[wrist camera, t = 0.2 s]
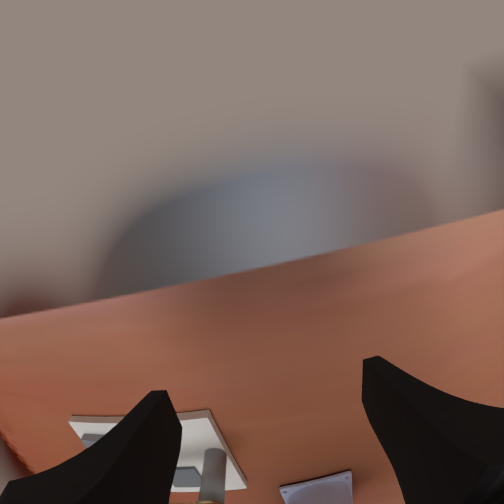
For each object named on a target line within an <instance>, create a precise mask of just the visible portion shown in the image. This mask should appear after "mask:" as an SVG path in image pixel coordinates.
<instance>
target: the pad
mask: <svg viewBox="0 0 504 504" xmlns="http://www.w3.org/2000/svg"><path fill="white" fill-rule="evenodd" d="M200 484H201V474H200V473H199V472H198V470H197V469H196V467H195V466H188V467H176V471H175V475H174V480H173V485H174V487H200Z"/></svg>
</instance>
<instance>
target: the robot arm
mask: <svg viewBox="0 0 504 504" xmlns="http://www.w3.org/2000/svg"><path fill="white" fill-rule="evenodd" d="M362 403H363V405H364V408H365V411H366V414H367V417H368V419H369V422H370V424H371V426H372V428H373V430H374V432H375V434H376V435H377V437H378V439H379V441H380V443H381V445H382V447H383V449H384V451H385V453H386V454H387V456H388V458H389V460H390V462H391V464H392V466H393V469H394V471H395V473H396V476H397V479H398V482H399V485H400V488H401V491H402V494H403V497H404V500H405V504H504V408H499V407H492V406H487V405H483V404H479V403H474V402H471V401H467V400H464V399H461V398H458V397H455V396H453V395H450V394H447V393H445V392H443V391H440V390H438V389H436V388H434V387H432V386H430V385H428V384H426V383H424V382H422V381H420V380H418V379H416V378H415V377H413V376H411V375H409V374H408V373H406V372H404V371H403V370H401V369H399V368H398V367H396V366H395V365H393V364H391V363H390V362H388V361H387V360H385V359H383V358H382V357H380V356H375V357H371V358H368V359H364V360H363V379H362ZM182 428H183V427H182V425H181V423H180V421H179V418H178V416H177V414H176V412H175V409H174V407H173V405H172V403H171V400H170V398H169V395H168V393H167V391H166V390H158V391H151V392H150V393H148V394H147V395H146V396H145V397H144V398H143V399H142V400H141V401H140V402H139V403H138V404H137V405H136V406H135V407H134V408H133V409H132V410H131V411H130V412H129V413H128V414H127V415H126V416H125V417H124V418H123V419H122V420H121V421H120V422H119V423H118V424H117V425H115V426H114V427H113V428H112V429H111V430H110V431H109V432H107V433H106V434H105V435H104V436H103V437H102V438H100V439H99V440H98V441H97V442H95V443H94V444H93V445H91V446H90V447H88V448H87V449H85V450H84V451H82V452H81V453H79V454H78V455H76V456H74V457H72V458H71V459H69V460H67V461H65V462H63V463H61V464H60V465H57V466H55V467H53V468H51V469H48V470H46V471H43V472H41V473H38V474H35V475H32V476H28V477H25V478H21V479H17V480H13V481H9V482H8V484H7V485H6V487H5V489H4V490H3V492H2V494H1V496H0V504H168V503H169V497H170V492H171V488H172V484H173V480H174V475H175V471H176V467H177V463H178V459H179V454H180V450H181V441H182ZM279 490H280V493H281V495H282V497H283V499H284V502H285V504H354V503H353V500H352V473H351V471H346V472H342V473H339V474H335V475H331V476H328V477H324V478H320V479H316V480H311V481H307V482H302V483H297V484H292V485H287V486H282V487H280V488H279Z"/></svg>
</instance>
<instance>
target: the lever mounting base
mask: <svg viewBox="0 0 504 504" xmlns="http://www.w3.org/2000/svg"><path fill="white" fill-rule="evenodd" d="M176 414H177V416H178V418H179V421H180V423H181V425H182V427H183V428H182V441H181V450H180V454H179V459H178V463H177V467H188V466H195V467H196V469H197V470H198V472H199V473H200V474H201V484H200V487H174V485H173V484H172V488H171V492H199V499H198V501H201V500H212V501H217V502H221V503H223V504H224V499H225V490H236V489H246V488H247V481H246V479H245V477H244V476H243V474H242V472H241V470H240V469H239V467H238V465H237V463H236V461H235V459H234V458H233V456H232V454H231V452H230V450H229V448H228V446H227V445H226V443H225V441H224V439H223V437H222V435H221V433H220V431H219V429H218V427H217V425H216V423H215V421H214V419H213V417H212V415H211V413H210V411H209V410H201V411H193V412H184V413H176ZM124 417H125V416H109V417H103V416H72V417H71V418H70V420H69V421H68V422H69V423H70V425H71V426H72V428H73V429H74V430H75V432H76V433H77V434H78V436H79V437H80V438H81V439H80V440H81V441H82V443H83V444H84V445H85V446H86V448H88V447H90V446H91V445H93V444H94V443H95V442H97V441H98V440H99V439H100V438H102V437H103V436H104V435H105V434H106V433H107V432H109V431H110V430H111V429H112V428H113V427H114V426H115V425H117V424H118V423H119V422H120V421H121V420H122V419H123V418H124Z"/></svg>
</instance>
